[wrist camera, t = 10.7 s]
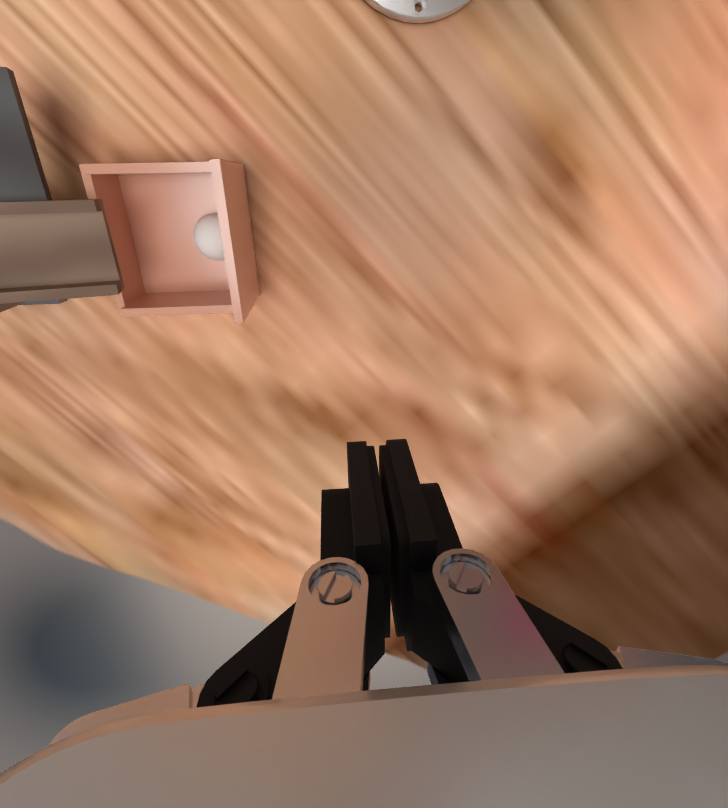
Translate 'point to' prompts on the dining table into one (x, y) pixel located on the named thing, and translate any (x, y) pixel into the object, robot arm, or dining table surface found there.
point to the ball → (209, 237)
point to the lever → (46, 223)
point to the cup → (177, 236)
